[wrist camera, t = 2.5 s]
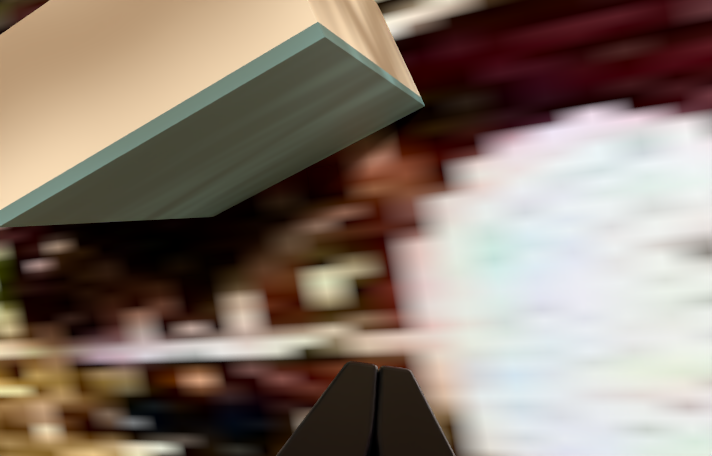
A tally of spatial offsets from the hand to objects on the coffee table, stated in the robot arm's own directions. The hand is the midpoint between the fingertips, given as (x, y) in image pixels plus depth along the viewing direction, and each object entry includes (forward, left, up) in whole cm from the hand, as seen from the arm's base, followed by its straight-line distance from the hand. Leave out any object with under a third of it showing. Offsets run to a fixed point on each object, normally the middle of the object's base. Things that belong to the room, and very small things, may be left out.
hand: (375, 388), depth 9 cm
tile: (+3, +7, -12) cm, 14 cm away
